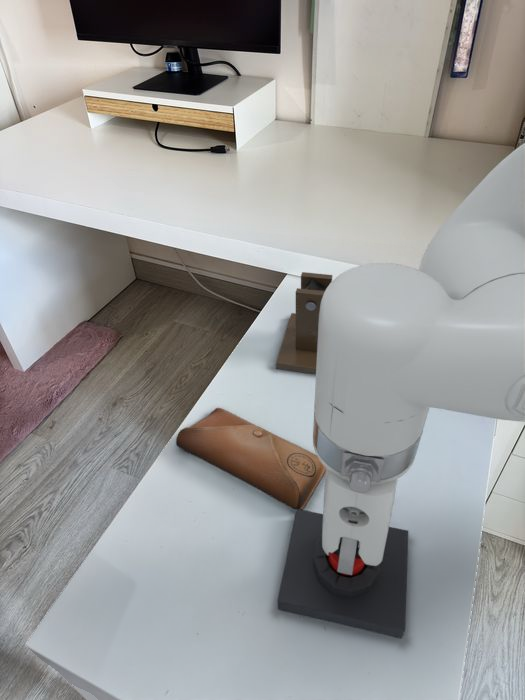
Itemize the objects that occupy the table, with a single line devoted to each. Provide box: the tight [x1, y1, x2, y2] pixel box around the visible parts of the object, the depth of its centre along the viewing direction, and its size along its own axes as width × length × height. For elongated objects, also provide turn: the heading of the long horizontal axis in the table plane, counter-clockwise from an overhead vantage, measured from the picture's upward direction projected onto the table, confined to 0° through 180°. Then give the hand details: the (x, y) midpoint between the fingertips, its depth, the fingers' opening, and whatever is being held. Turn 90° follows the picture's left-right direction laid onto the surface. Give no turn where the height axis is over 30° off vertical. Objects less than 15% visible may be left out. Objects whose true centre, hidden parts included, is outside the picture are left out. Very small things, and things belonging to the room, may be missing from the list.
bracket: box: [275, 271, 333, 375], centre depth 74 cm, size 9×12×12 cm
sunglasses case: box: [175, 407, 326, 511], centre depth 62 cm, size 18×7×7 cm
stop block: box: [277, 509, 409, 639], centre depth 51 cm, size 12×10×4 cm
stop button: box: [329, 553, 365, 576], centre depth 49 cm, size 4×4×2 cm
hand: (346, 547), depth 49 cm, fingers closed
